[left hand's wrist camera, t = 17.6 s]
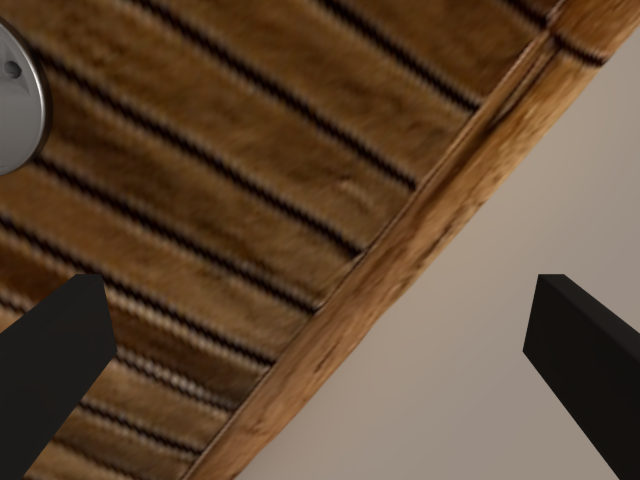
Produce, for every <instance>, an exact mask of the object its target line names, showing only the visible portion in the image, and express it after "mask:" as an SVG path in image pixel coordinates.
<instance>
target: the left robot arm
mask: <svg viewBox="0 0 640 480" xmlns="http://www.w3.org/2000/svg"><path fill="white" fill-rule="evenodd" d="M52 120H53V103H52V96H51V91H50V87H49V83H48V80H47V77H46V74H45V72H44V70H43V67H42V65H41V63H40V62H39V60H38V58H37V56H36V55H35V53H34V51H33V50H32V48H31V47H30V46H29V44H28V43H27V42H26V40H25V39H24V38H23V37H22V36H21V35H20V33H19V32H18V31H17V30H16V29H15V28H14V27H13V26H12V25H10V24H9V23H8V22H7V21H6V20H5V19H3V18H2V17H1V16H0V176H1V175H5V174H8V173H11V172H14V171H17V170H19V169H21V168H23V167H24V166H26V165H28V164H29V163H30V162H31V161H33V160H34V159H35V158H36V157H37V156H38V154H39V153H40V152H41V150H42V149H43V147H44V146H45V144H46V142H47V139H48V137H49V134H50V130H51V126H52ZM116 353H117V347H116V342H115V337H114V332H113V328H112V323H111V318H110V313H109V308H108V303H107V299H106V294H105V289H104V284H103V279H102V274H76V275H74V276H73V277H72V278H71V279H69V280H68V281H67V282H65V283H64V284H63V285H62V286H60V287H59V288H58V289H57V290H55V291H54V292H53V293H51V294H50V295H49V296H48V297H46V298H45V299H44V300H42V301H41V302H40V303H39V304H37V305H36V306H35V307H34V308H32V309H31V310H30V311H28V312H27V313H26V314H25V315H23V316H22V317H21V318H19V319H18V320H17V321H16V322H14V323H13V324H12V325H11V326H9V327H8V328H7V329H5V330H4V331H3V332H2V333H0V480H21V478H22V477H23V476H24V474H25V473H26V472H27V470H28V469H29V468H30V466H31V465H32V464H33V462H34V461H35V460H36V458H37V457H38V456H39V454H40V453H41V452H42V451H43V449H44V448H45V447H46V445H47V444H48V443H49V441H50V440H51V439H52V437H53V436H54V435H55V433H56V432H57V431H58V429H59V428H60V427H61V425H62V424H63V423H64V421H65V420H66V419H67V417H68V416H69V415H70V413H71V412H72V411H73V410H74V408H75V407H76V406H77V404H78V403H79V402H80V400H81V399H82V398H83V396H84V395H85V394H86V392H87V391H88V390H89V388H90V387H91V386H92V384H93V383H94V382H95V380H96V379H97V378H98V376H99V375H100V374H101V372H102V371H103V370H104V368H105V367H106V366H107V365H108V363H109V362H110V361H111V359H112V358H113V357H114V355H115V354H116ZM523 353H524V354H525V355H526V357H527V358H528V359H529V361H530V362H531V363H532V364H533V366H534V367H535V368H536V370H537V371H538V372H539V374H540V375H541V376H542V378H543V379H544V380H545V382H546V383H547V384H548V386H549V387H550V388H551V390H552V391H553V392H554V394H555V395H556V396H557V398H558V399H559V400H560V402H561V403H562V404H563V406H564V407H565V408H566V409H567V411H568V412H569V413H570V415H571V416H572V417H573V419H574V420H575V421H576V423H577V424H578V425H579V427H580V428H581V429H582V431H583V432H584V433H585V435H586V436H587V437H588V439H589V440H590V441H591V443H592V444H593V445H594V447H595V448H596V449H597V451H598V452H599V453H600V454H601V456H602V457H603V458H604V460H605V461H606V462H607V464H608V465H609V466H610V468H611V469H612V470H613V472H614V473H615V474H616V476H617V477H618V478H619V480H640V333H638V332H637V331H636V330H635V329H633V328H632V327H631V326H629V325H628V324H627V323H626V322H624V321H623V320H622V319H621V318H619V317H618V316H617V315H615V314H614V313H613V312H612V311H610V310H609V309H608V308H606V307H605V306H604V305H603V304H601V303H600V302H599V301H598V300H596V299H595V298H594V297H592V296H591V295H590V294H589V293H587V292H586V291H585V290H583V289H582V288H581V287H580V286H578V285H577V284H576V283H575V282H573V281H572V280H571V279H569V278H568V277H567V276H566V275H564V274H539V275H538V279H537V284H536V289H535V294H534V299H533V303H532V308H531V313H530V318H529V323H528V328H527V332H526V337H525V342H524V347H523Z"/></svg>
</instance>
